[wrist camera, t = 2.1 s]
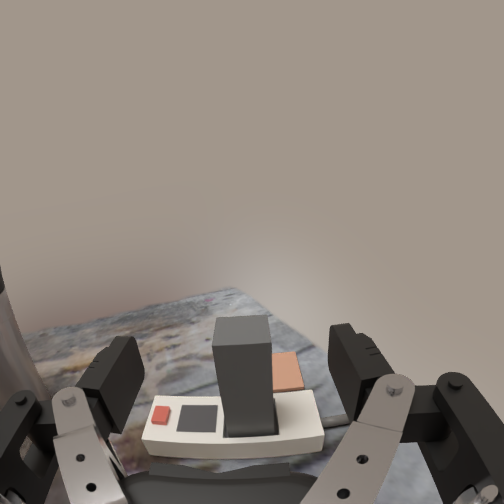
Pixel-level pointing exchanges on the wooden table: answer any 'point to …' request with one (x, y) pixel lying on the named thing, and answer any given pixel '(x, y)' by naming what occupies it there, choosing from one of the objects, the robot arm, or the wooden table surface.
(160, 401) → the power strip
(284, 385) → the tile coaster
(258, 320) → the block
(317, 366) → the wooden table surface
